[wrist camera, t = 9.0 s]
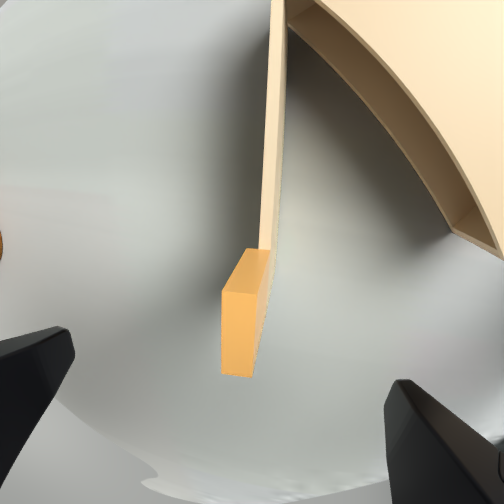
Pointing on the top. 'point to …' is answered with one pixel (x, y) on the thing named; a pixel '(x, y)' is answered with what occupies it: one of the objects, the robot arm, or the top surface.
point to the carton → (427, 93)
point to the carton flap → (264, 258)
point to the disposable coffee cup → (0, 245)
